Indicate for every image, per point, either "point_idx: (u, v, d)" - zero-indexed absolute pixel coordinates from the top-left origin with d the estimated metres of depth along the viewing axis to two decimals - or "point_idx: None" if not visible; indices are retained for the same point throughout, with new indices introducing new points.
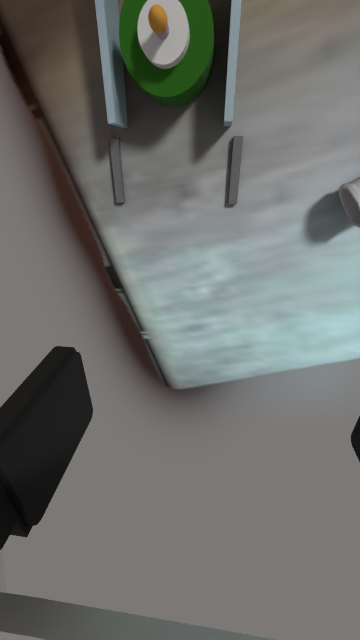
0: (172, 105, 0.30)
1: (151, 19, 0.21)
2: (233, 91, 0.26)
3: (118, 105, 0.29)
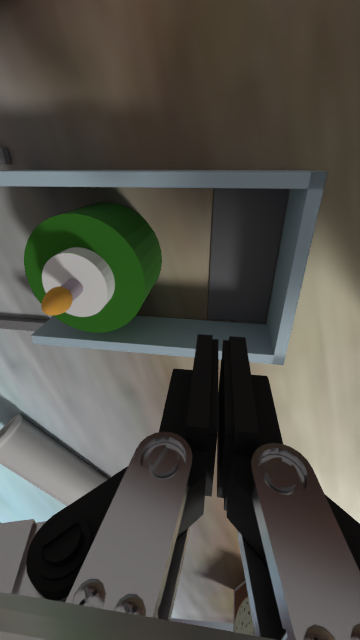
0: None
1: (43, 301, 0.15)
2: (58, 344, 0.23)
3: None
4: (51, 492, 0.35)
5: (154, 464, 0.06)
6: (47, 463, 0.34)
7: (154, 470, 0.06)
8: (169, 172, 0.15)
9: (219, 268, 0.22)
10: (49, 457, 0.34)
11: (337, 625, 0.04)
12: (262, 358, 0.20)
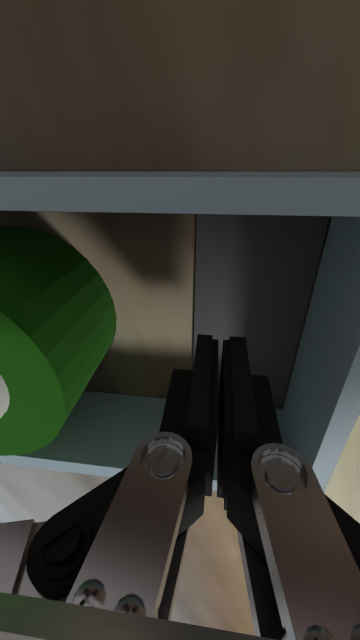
0: None
1: None
2: None
3: None
4: None
5: (154, 464, 0.06)
6: None
7: (154, 470, 0.06)
8: (87, 178, 0.07)
9: (209, 331, 0.14)
10: None
11: (336, 625, 0.04)
12: None
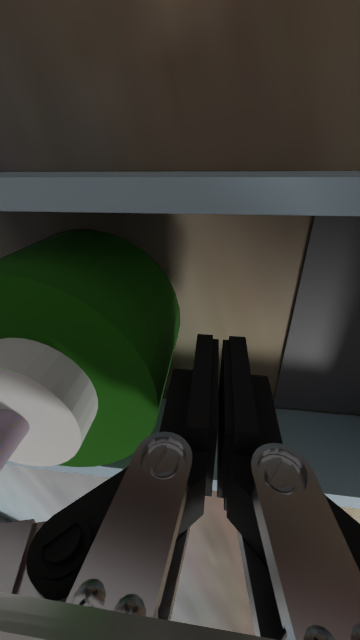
0: None
1: None
2: (33, 466, 0.13)
3: None
4: None
5: (154, 464, 0.06)
6: None
7: (154, 470, 0.06)
8: (275, 179, 0.06)
9: (304, 337, 0.13)
10: None
11: (336, 625, 0.04)
12: None
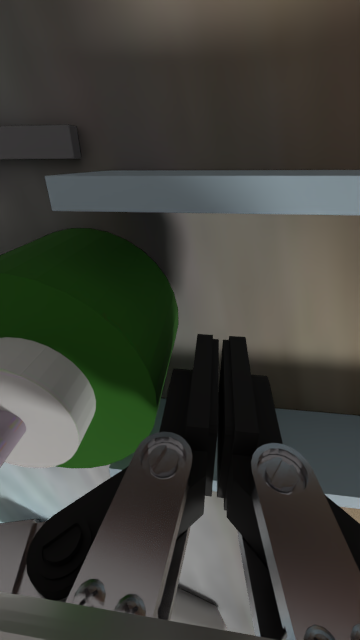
0: None
1: None
2: None
3: None
4: None
5: (154, 464, 0.06)
6: None
7: (154, 470, 0.06)
8: None
9: None
10: None
11: (337, 625, 0.04)
12: None
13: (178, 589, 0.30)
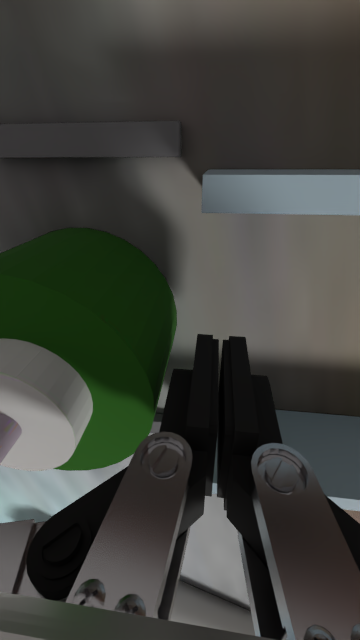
0: None
1: None
2: None
3: None
4: None
5: (154, 464, 0.06)
6: None
7: (154, 470, 0.06)
8: None
9: None
10: None
11: (336, 625, 0.04)
12: None
13: (211, 596, 0.30)
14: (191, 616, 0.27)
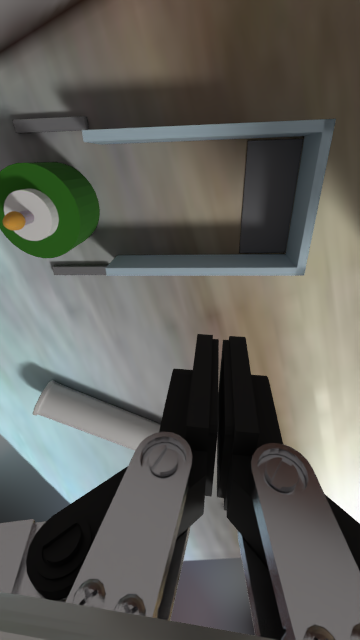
0: None
1: (3, 218, 0.22)
2: (127, 274, 0.29)
3: (108, 142, 0.24)
4: (95, 432, 0.42)
5: (154, 464, 0.06)
6: (83, 407, 0.41)
7: (154, 470, 0.06)
8: (225, 124, 0.22)
9: (250, 208, 0.29)
10: (84, 403, 0.42)
11: (337, 625, 0.04)
12: (288, 271, 0.27)
13: None
14: (135, 424, 0.43)
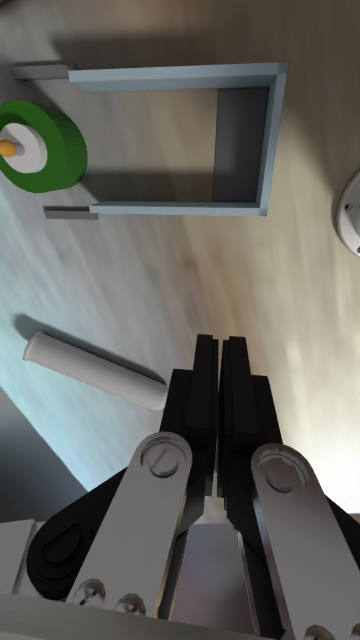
0: None
1: None
2: (108, 212, 0.32)
3: (93, 85, 0.28)
4: (79, 377, 0.46)
5: (154, 464, 0.06)
6: (68, 354, 0.45)
7: (154, 470, 0.06)
8: (192, 66, 0.25)
9: (222, 156, 0.32)
10: (69, 351, 0.46)
11: (337, 625, 0.04)
12: (252, 211, 0.30)
13: (135, 372, 0.49)
14: (117, 371, 0.47)
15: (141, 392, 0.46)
